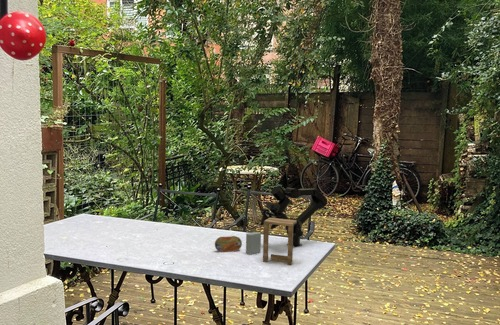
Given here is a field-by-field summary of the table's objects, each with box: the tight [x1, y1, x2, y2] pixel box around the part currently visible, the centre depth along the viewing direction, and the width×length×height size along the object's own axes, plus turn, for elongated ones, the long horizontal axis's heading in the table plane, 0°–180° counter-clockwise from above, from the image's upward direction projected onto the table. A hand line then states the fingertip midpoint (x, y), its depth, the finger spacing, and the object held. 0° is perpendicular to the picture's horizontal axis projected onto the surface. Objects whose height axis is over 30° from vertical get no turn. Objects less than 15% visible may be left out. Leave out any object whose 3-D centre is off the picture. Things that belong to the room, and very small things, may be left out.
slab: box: [245, 231, 262, 256], centre depth 253 cm, size 7×4×11 cm, turn 126°
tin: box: [214, 235, 243, 253], centre depth 256 cm, size 15×3×8 cm, turn 105°
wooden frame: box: [262, 217, 297, 266], centre depth 239 cm, size 10×15×21 cm, turn 71°
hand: (265, 227), depth 257 cm, fingers open, 9 cm apart
